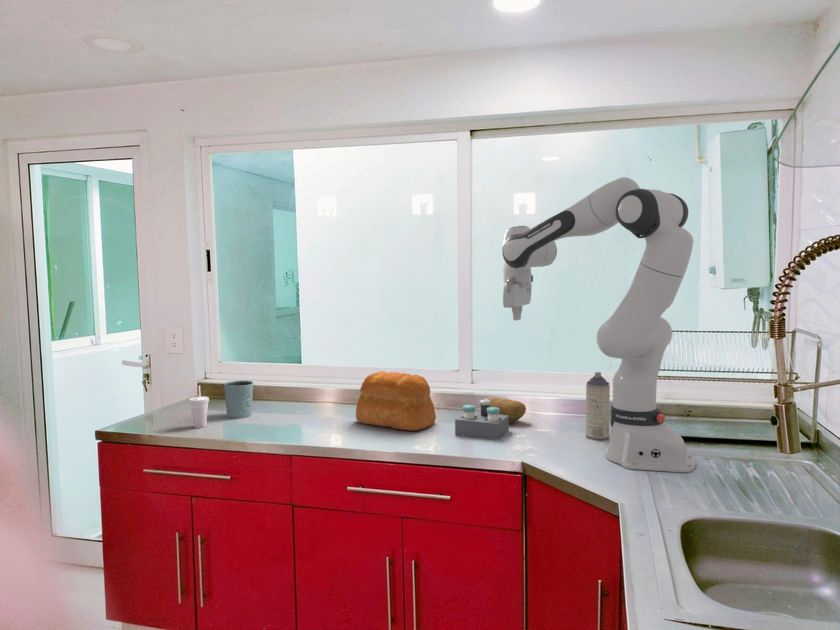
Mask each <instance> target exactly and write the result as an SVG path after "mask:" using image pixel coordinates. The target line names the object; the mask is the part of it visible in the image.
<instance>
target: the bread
mask: <svg viewBox="0 0 840 630" xmlns="http://www.w3.org/2000/svg"><path fill="white" fill-rule="evenodd" d="M359 391H360V392H359V393H361V394H360V395H359V398H358V401H357V402H356V409H355V418H356V421H357V422H359V423H360V424H366V425H372V426H377V427H382V428H383V427H384V428H392V429H395V430H402V431H410V432H413V431H415V432H416V431H420V430H424V429H427V428H428V427H430V426H433V425H434V424H435V421H436V418H437V417H436V416H437V415H436V410H435V405H434V402H433V400H432V398H431V387H430V386H429V383H428V381H427V379H426V378H425V376H421V375H419V374H411V373H406V372H403V373H402V372H397V371H393V372H386V371H382V370H381V371H378V372H374V373H371V374H369V375H367V376H366V377H365V379H364V380H363V381H362V384H361V386H360V390H359Z"/></svg>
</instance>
